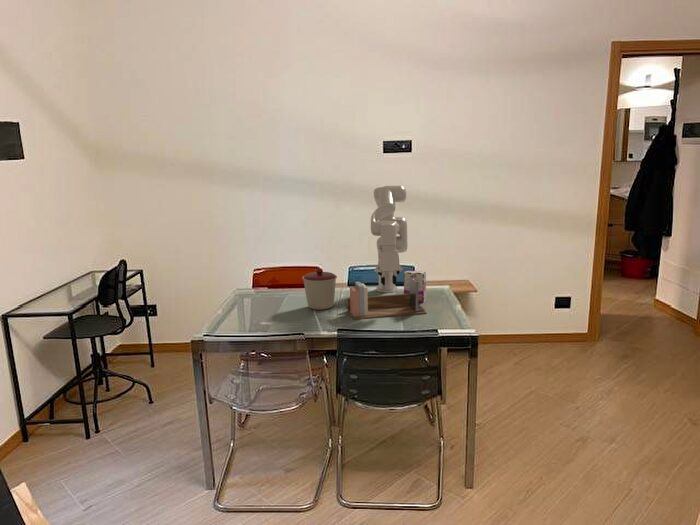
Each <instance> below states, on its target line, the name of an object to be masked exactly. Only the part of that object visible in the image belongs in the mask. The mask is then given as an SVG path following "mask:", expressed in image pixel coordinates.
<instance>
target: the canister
mask: <svg viewBox="0 0 700 525" xmlns="http://www.w3.org/2000/svg"><path fill="white" fill-rule="evenodd" d="M337 278H338V276H337V275H336V274H335V273H333V272H331V271H330V272H329V271H324V270H323V268H321V267H319V268H316V270H315V271H313V272H308V273H306V274H305V275H303V276H302V280H303V285H304V290H305V298H306V304H307V306H308V308H309V309H312V310H316V311H317V310H318V311H321V310H322V311H323V310H327V309H331V308H332V307H333V306H334V303H335V294H336V282H337Z"/></svg>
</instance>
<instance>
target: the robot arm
mask: <svg viewBox="0 0 700 525" xmlns="http://www.w3.org/2000/svg"><path fill="white" fill-rule="evenodd" d="M373 198H374V201H375V204H376V206H377V208H376V209H375V210H374V212H373V213H371V217H370V232H371V234H372V235H373V236H375V237H378V239H377V240H376V249H377V256H378V257H377V258H378V260H377V265H376V266H375V268H374V270H373V271H374V272H375V273H376V274H377V275H378V286H377V287H376V288H375V290H376V291H377V292H378V293H385V294H387V293H394V292H397V291H398V290H399V288H398V286H396V283H397V277H398V275H399V274H400V273H401V272H402V271H403V270H404V268H403V267H402V265H401V264H400V255H399V254H400V253H406V252H407V250H408V224H407V223H408V221H407V220H406V218H405V217H403V216H394V214H395V211H396V203H403V202H405V201H406V199H407V189H406V187H405V186H403V185H385V186H381V187H379V186H378V187H376V188H374V190H373Z"/></svg>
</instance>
